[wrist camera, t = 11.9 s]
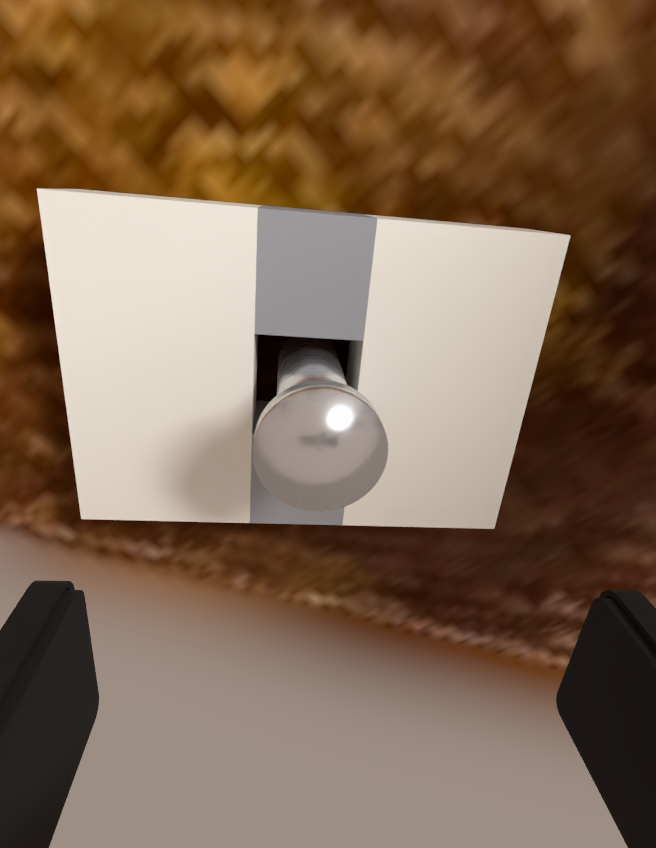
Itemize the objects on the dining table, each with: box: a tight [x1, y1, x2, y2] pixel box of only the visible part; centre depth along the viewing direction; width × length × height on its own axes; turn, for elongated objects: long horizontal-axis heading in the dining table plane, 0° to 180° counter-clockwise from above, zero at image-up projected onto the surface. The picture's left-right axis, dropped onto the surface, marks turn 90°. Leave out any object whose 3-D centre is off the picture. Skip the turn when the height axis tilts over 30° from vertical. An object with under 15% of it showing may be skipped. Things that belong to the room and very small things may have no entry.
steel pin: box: [253, 336, 388, 512], centre depth 21 cm, size 4×4×10 cm
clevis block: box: [37, 189, 571, 529], centre depth 24 cm, size 20×14×4 cm
